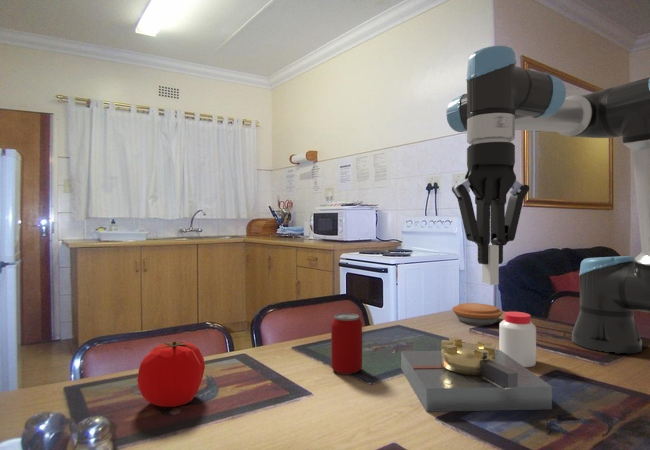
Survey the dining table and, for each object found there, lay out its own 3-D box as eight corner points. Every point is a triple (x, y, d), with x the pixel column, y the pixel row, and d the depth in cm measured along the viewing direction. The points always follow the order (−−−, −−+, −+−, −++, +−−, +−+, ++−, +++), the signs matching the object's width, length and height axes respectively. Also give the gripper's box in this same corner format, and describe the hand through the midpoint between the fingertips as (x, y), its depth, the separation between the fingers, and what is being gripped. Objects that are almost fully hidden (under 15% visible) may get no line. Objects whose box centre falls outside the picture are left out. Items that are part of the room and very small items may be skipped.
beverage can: (366, 367, 93) (366, 314, 93) (355, 378, 87) (355, 320, 86) (338, 363, 96) (338, 311, 95) (326, 373, 89) (326, 317, 89)
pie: (455, 326, 128) (455, 310, 128) (449, 314, 144) (449, 300, 144) (508, 328, 126) (508, 311, 126) (496, 316, 141) (496, 301, 141)
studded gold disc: (431, 359, 85) (431, 339, 85) (472, 354, 88) (472, 334, 88) (488, 393, 69) (488, 367, 69) (536, 385, 72) (536, 361, 72)
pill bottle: (540, 368, 92) (540, 318, 92) (503, 366, 94) (503, 317, 93) (530, 356, 100) (530, 311, 99) (496, 354, 101) (496, 309, 101)
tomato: (165, 423, 68) (164, 355, 68) (123, 406, 74) (123, 344, 74) (219, 396, 78) (219, 337, 78) (179, 383, 84) (178, 328, 84)
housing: (499, 367, 92) (499, 349, 92) (554, 411, 72) (554, 387, 71) (401, 369, 92) (401, 350, 91) (427, 413, 71) (427, 389, 71)
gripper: (463, 139, 66) (463, 288, 66) (540, 140, 67) (539, 286, 68) (444, 147, 73) (444, 281, 73) (514, 148, 75) (513, 279, 75)
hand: (490, 283), depth 71 cm, fingers closed
